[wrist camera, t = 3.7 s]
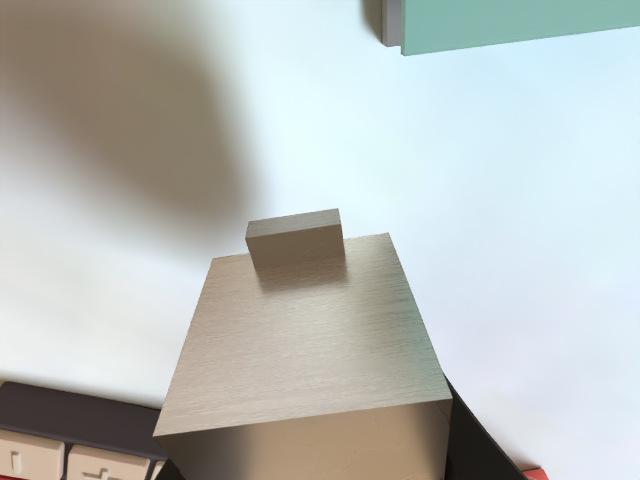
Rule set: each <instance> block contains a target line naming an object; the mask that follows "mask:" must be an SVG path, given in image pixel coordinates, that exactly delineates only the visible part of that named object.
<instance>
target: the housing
mask: <svg viewBox="0 0 640 480" xmlns="http://www.w3.org/2000/svg"><path fill="white" fill-rule="evenodd" d="M245 239H246V243H247V246H248V249H249V252H250V253H246V254H239V255H232V256H225V257H218V258H213V259H212V262H211V265H210V268H209V271H208V274H207V277H206V280H205V282H204V285H203V288H202V291H201V294H200V297H199V300H198V303H197V306H196V309H195V312H194V315H193V318H192V321H191V324H190V327H189V330H188V333H187V336H186V339H185V342H184V345H183V348H182V351H181V354H180V357H179V360H178V362H177V365H176V368H175V371H174V374H173V377H172V380H171V383H170V386H169V389H168V392H167V395H166V398H165V401H164V404H163V407H162V410H161V413H160V416H159V419H158V422H157V425H156V428H155V431H154V434H153V438H154V439H155V440H156V441H157V443H158V444H159V445H160V447H161V448H162V449H163V451H164V452H165V453H166V454H167V456H168V457H169V458H170V460H171V461H172V462H173V464H174V465H175V466H176V467H177V469H178V470H179V471H180V473H181V474H182V475H183V477H184V478H185V479H186V480H444V474H445V465H446V456H447V447H448V438H449V428H450V419H451V410H452V401H453V397H452V395H451V392H450V390H449V387H448V385H447V382H446V379H445V377H444V374H443V372H442V369H441V366H440V364H439V361H438V359H437V356H436V354H435V351H434V348H433V346H432V343H431V341H430V338H429V335H428V333H427V330H426V328H425V325H424V323H423V320H422V317H421V315H420V312H419V310H418V307H417V304H416V302H415V299H414V297H413V294H412V292H411V289H410V286H409V284H408V281H407V279H406V276H405V274H404V271H403V268H402V266H401V263H400V261H399V258H398V255H397V253H396V250H395V248H394V245H393V243H392V240H391V237H390V235H389V233H383V234H376V235H369V236H363V237H356V238H349V239H343V234H342V227H341V220H340V215H339V210H338V208H337V209H330V210H323V211H317V212H310V213H303V214H296V215H290V216H283V217H276V218H270V219H263V220H256V221H249V223H248V228H247V232H246V236H245Z"/></svg>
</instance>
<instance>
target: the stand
mask: <svg viewBox="0 0 640 480" xmlns="http://www.w3.org/2000/svg"><path fill="white" fill-rule="evenodd" d="M635 26H640V0H382V44H383V45H385V46H387V47H392V46H400V45H401V54H402V55H404V56H410V55H418V54H425V53H433V52H441V51H449V50H456V49H464V48H472V47H480V46H487V45H495V44H503V43H511V42H519V41H526V40H534V39H542V38H550V37H557V36H565V35H573V34H581V33H588V32H596V31H604V30H612V29H620V28H627V27H635Z"/></svg>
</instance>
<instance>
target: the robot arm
mask: <svg viewBox="0 0 640 480" xmlns="http://www.w3.org/2000/svg"><path fill="white" fill-rule="evenodd" d="M442 372H443V371H442ZM443 374H444V373H443ZM444 377H445V379H446V382H447V385H448V387H449V390H450V392H451V395H452V397H453V401H452V410H451V419H450V428H449V438H448V447H447V456H446V465H445V474H444V480H529V479H528V478H527V477H526V476H525V475H524V474H523V473H522V472H521V471H520V470H519V468H518V467H517V466H516V465H515V464H514V463H513V462H512V461H511V459H510V458H509V457H508V456H507V455H506V454H505V452H504V451H503V450H502V449H501V448H500V447H499V445H498V444H497V443H496V442H495V441H494V439H493V438H492V437H491V436H490V435H489V433H488V432H487V431H486V430H485V428H484V427H483V426H482V425H481V423H480V422H479V421H478V420H477V418H476V417H475V416H474V414H473V413H472V412H471V410H470V409H469V408H468V407H467V405H466V404H465V403H464V401H463V400H462V399H461V397H460V396H459V395H458V393H457V392H456V390H455V389H454V388H453V386H452V385H451V383H450V382H449V380H448V379H447V377H446V376H445V374H444ZM154 480H186V479H185V478H184V477H183V475H182V474H181V473H180V471H179V470H178V469H177V467H176V466H175V465H174V464H173V462H172V461H171V460H170V458H169V457H168V458H167V460H166V461H165V463H164V465H163V466H162V468H161V469H160V471H159V473H158V474H157V476H156V477H155V479H154Z"/></svg>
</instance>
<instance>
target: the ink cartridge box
mask: <svg viewBox="0 0 640 480" xmlns="http://www.w3.org/2000/svg"><path fill="white" fill-rule="evenodd" d="M522 473H523V474H524V475H525V476H526V477H527V478H528V479H529V480H549V479H548V477H547V475H546V473H545V471H544V470H543V469H536V470H530V471H524V472H522Z"/></svg>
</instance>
